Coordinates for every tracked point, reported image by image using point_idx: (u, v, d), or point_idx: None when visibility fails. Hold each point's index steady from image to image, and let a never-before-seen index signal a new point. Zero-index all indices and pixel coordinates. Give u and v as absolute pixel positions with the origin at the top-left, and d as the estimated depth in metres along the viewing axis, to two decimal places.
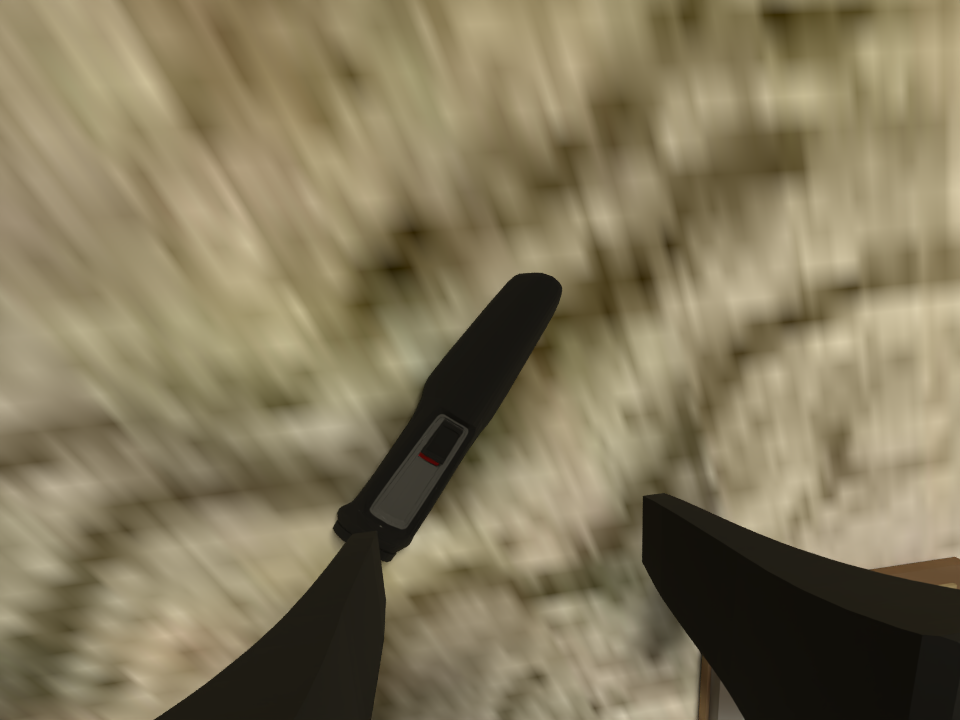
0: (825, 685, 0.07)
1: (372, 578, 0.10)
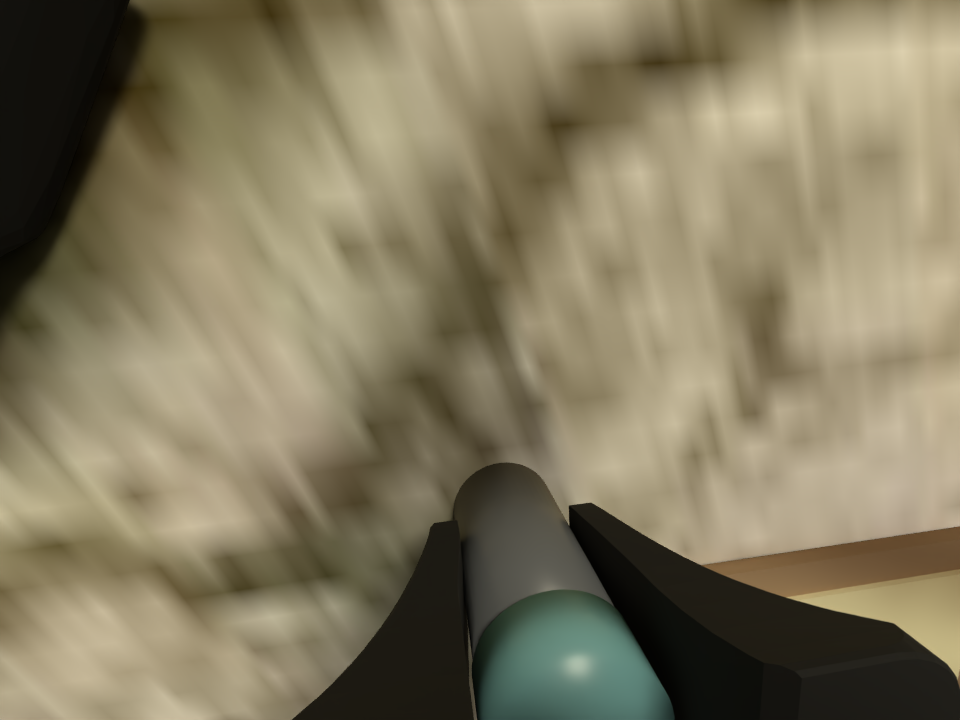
0: (699, 709, 0.07)
1: (461, 565, 0.10)
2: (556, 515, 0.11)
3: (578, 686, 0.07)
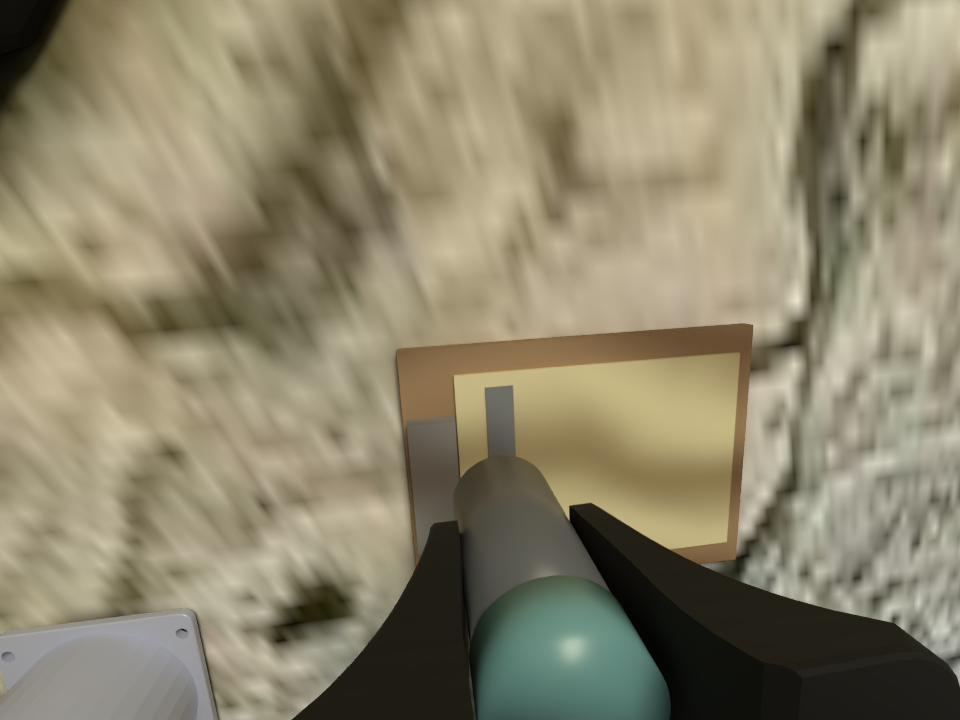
0: (699, 709, 0.07)
1: (461, 565, 0.10)
2: (550, 503, 0.11)
3: (569, 669, 0.07)
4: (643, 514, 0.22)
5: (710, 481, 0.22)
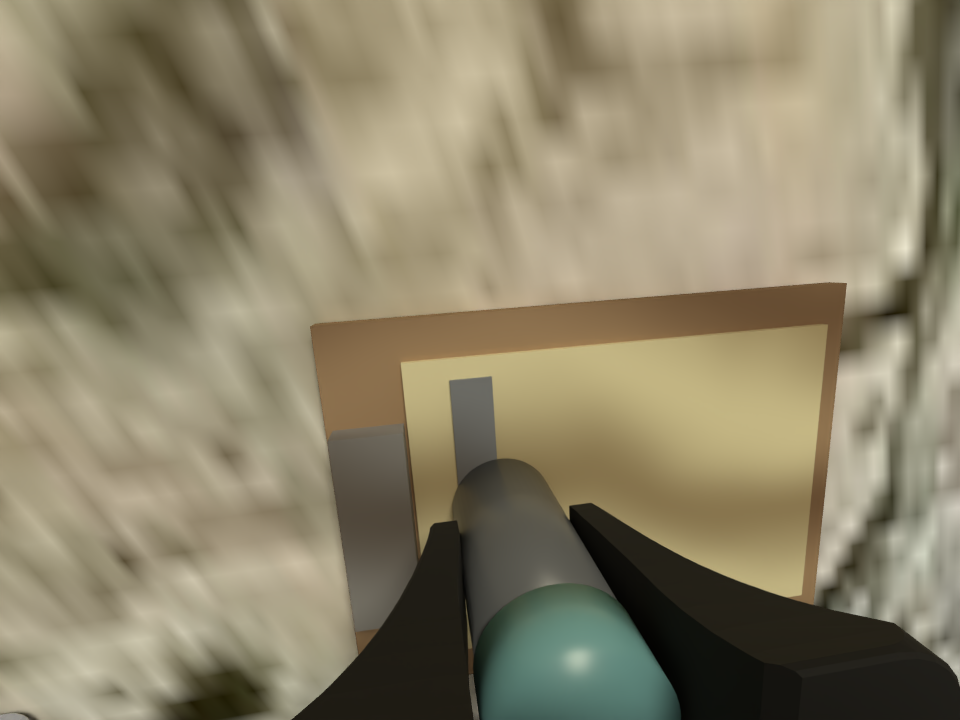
0: (699, 709, 0.07)
1: (461, 566, 0.10)
2: (553, 508, 0.11)
3: (577, 682, 0.07)
4: None
5: (781, 512, 0.15)
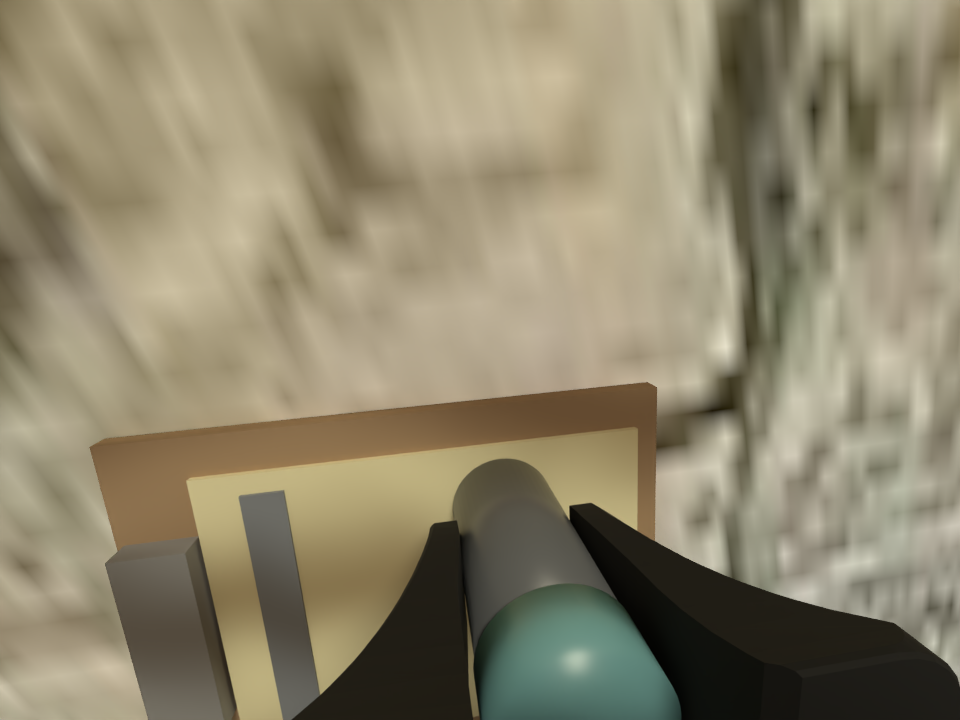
0: (700, 709, 0.07)
1: (461, 565, 0.10)
2: (553, 508, 0.11)
3: (577, 682, 0.07)
4: None
5: None
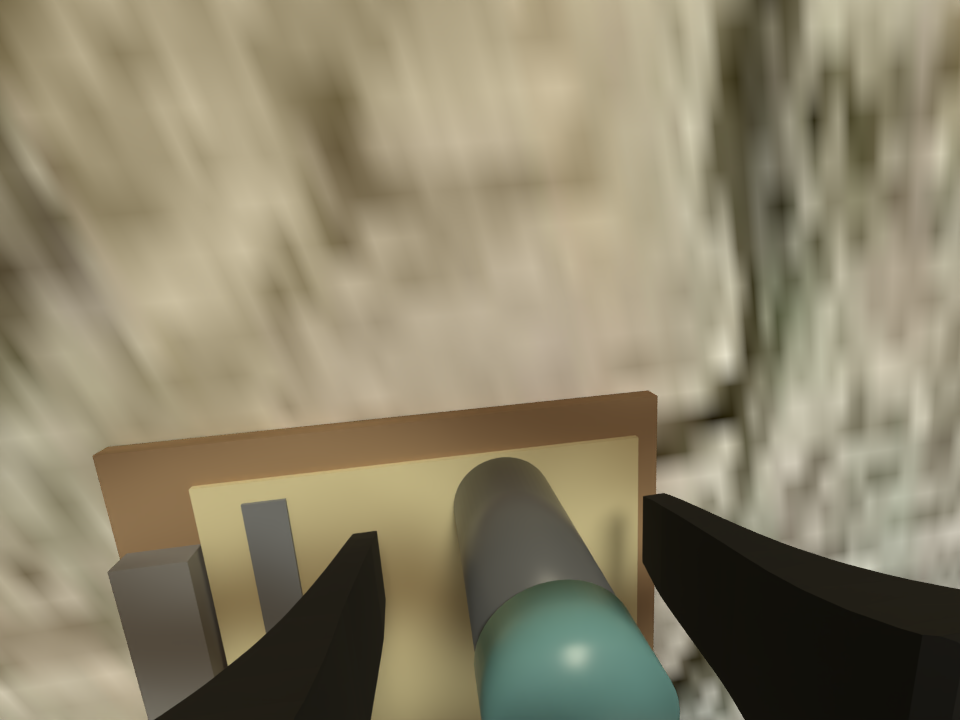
0: (825, 686, 0.07)
1: (372, 578, 0.10)
2: (553, 506, 0.11)
3: (577, 676, 0.07)
4: None
5: None
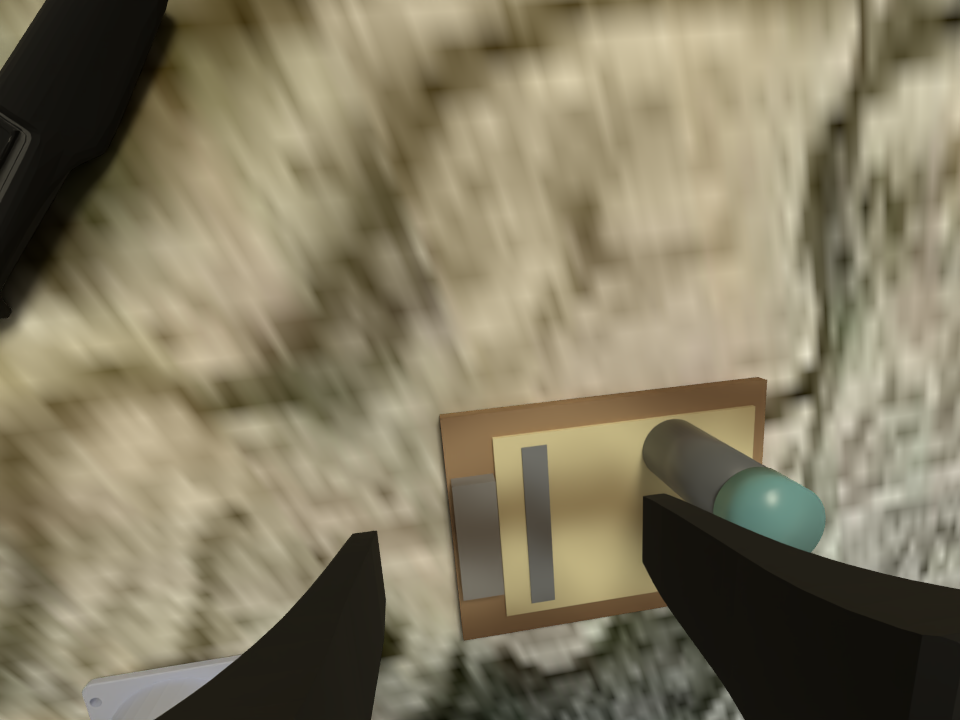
0: (825, 685, 0.07)
1: (372, 578, 0.10)
2: (723, 442, 0.20)
3: (782, 499, 0.15)
4: None
5: None
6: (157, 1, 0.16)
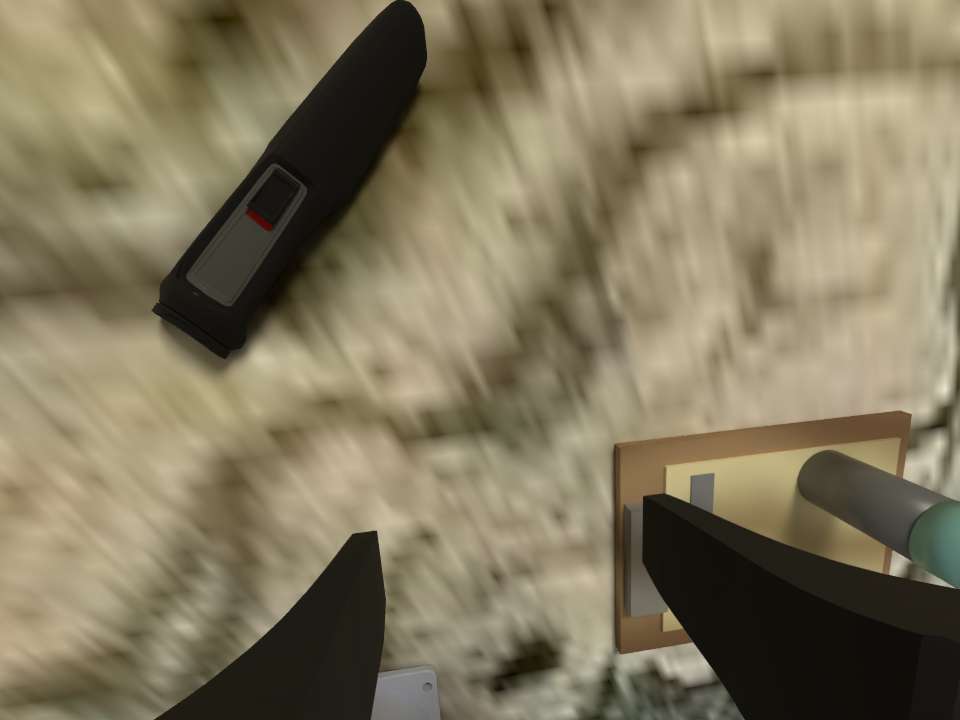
0: (825, 686, 0.07)
1: (372, 578, 0.10)
2: (891, 474, 0.21)
3: None
4: None
5: (869, 546, 0.25)
6: (420, 71, 0.17)
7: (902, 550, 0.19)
